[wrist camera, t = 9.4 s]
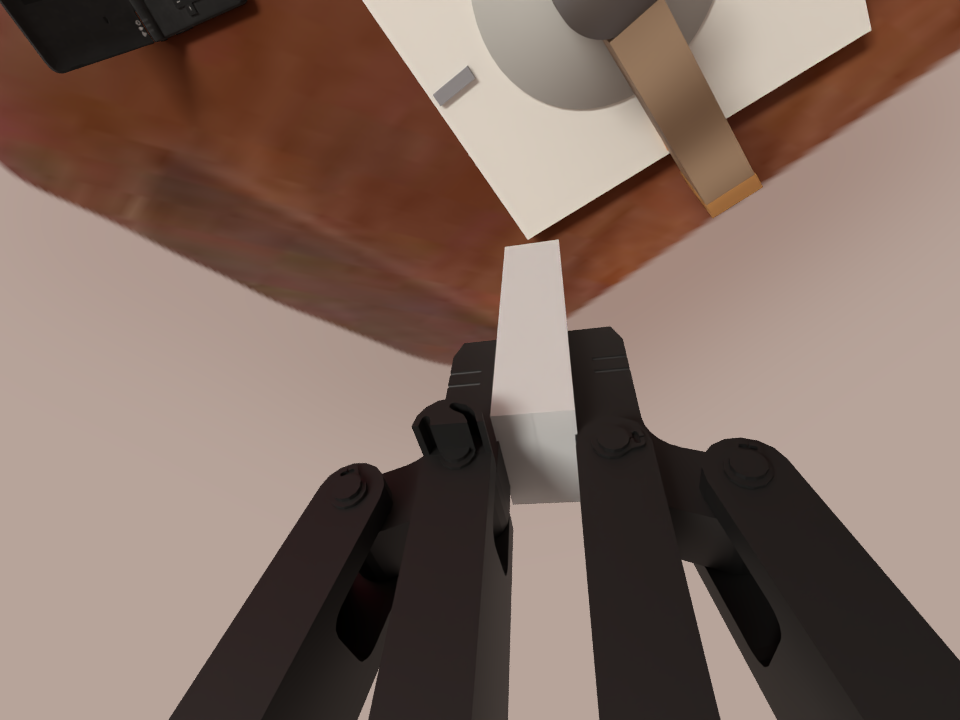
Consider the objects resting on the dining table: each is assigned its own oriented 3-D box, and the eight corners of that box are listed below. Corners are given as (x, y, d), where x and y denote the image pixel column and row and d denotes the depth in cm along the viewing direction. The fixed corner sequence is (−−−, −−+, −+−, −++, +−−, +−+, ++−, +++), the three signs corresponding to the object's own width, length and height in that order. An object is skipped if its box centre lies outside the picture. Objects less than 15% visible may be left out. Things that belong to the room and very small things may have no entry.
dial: (528, -35, 23) (529, -35, 19) (609, -120, 21) (631, -141, 17) (670, 190, 29) (694, 229, 25) (742, 141, 27) (783, 174, 23)
